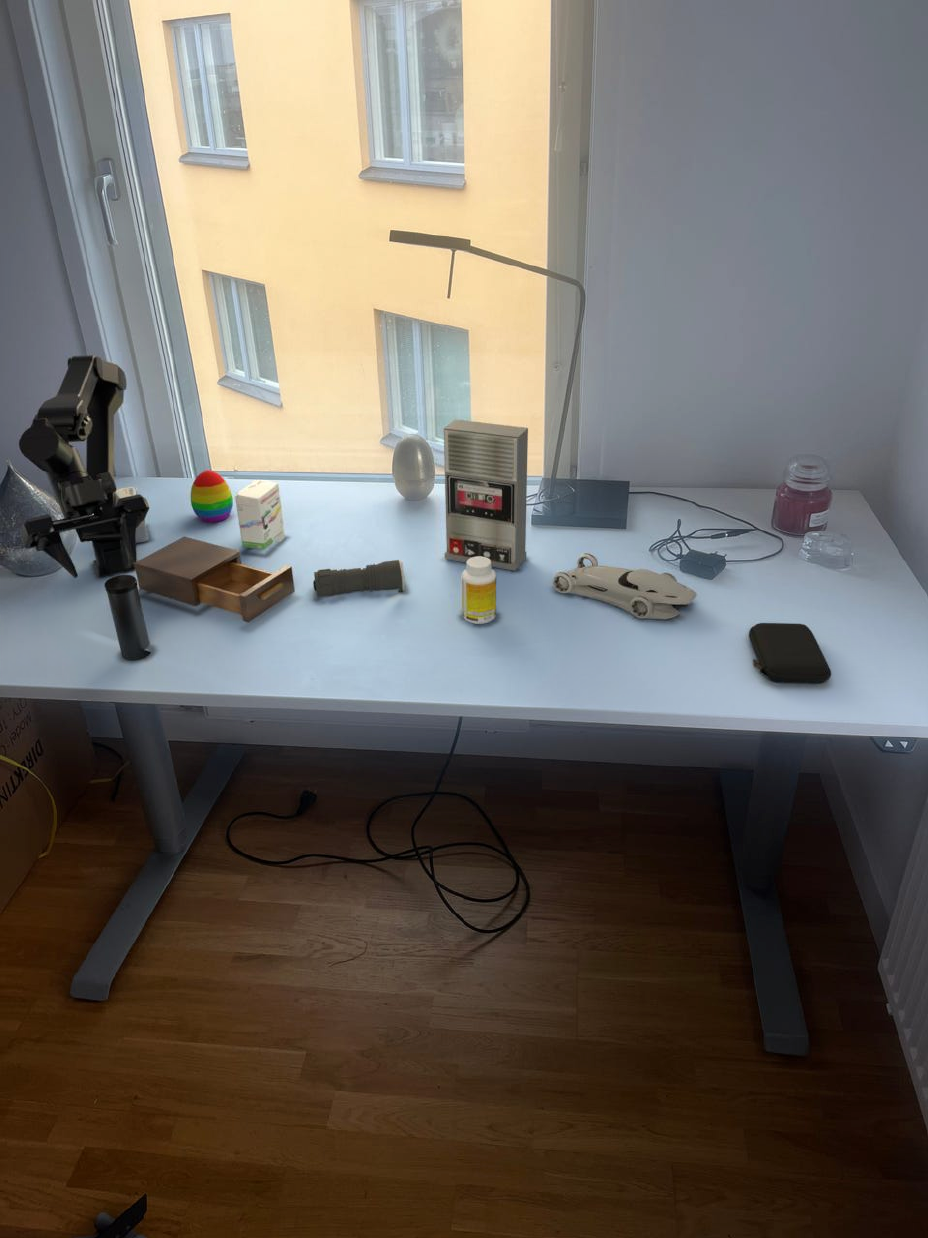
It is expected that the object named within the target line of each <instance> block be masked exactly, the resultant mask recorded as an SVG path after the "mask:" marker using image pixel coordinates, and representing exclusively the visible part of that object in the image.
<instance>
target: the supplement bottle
mask: <svg viewBox="0 0 928 1238" xmlns="http://www.w3.org/2000/svg"><path fill="white" fill-rule="evenodd" d="M465 568H466V569H464V570H463V571H462V573H461V604H462V606H461V607H462V609H461V611H462V617H463V619H464V620H465V621H467V622H468V623H471V624H475V625H483V624H488V623H490V622H492V621H493V620H495V618H496V616H497V573H496V571H495V570H494V569H492V568H493V567H491V560H490V559H488V558H486V557H481V556H477V557H472V558H470V559H468V560H467V562H466V566H465Z"/></svg>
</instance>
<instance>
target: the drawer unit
mask: <svg viewBox="0 0 928 1238" xmlns="http://www.w3.org/2000/svg"><path fill="white" fill-rule="evenodd" d="M229 561H232V562H235V563H239V564H242V557H241V551H240V550H237V549H233V548H229V547H226V546H222V545H218V544H214V543H211V542H207V541H204V540H199V539H196V538H192V537H188V536H182V537H181V538H179V539H176V540H175V541H172V542H171V543H169V544H167V545H166V546H164V547H161V548H159V549H158V550H156V551H154V552H152V553H150V554H148V555H146V556H144V557H143V558H141V559H139V560H137V561H136V563H134V565H135V569H134V570H135V574H136V579H137V584H138V588H139V590H141V591H145V592H148V593H152V594H154V595H158V596H161V597H164V598H168V599H170V600H173V601H176V602H180V603H183V604H187V605H190V606H192V607H197V606H199V605H200V604H201V602H199V597H198V591H197V586H196V581H197V580H199V579H200V578H202V577H204V576H205V575H207V574H209V573H211V572H212V571H214V570H216V569H217V568H219V567H221V566H222V565H224V564H226V563H228V562H229ZM242 565H243V564H242Z"/></svg>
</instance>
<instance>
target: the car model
mask: <svg viewBox="0 0 928 1238" xmlns="http://www.w3.org/2000/svg"><path fill="white" fill-rule="evenodd" d="M584 559H586V560H589V561H590V563H591V565H587V566H586V565H585V564H584V561H585V560H584ZM576 563H577V567H576V568H575V569H572V570H570V571H569V572H567V571H559V572H557V573H556V574H555V575H554V577H553V579H552V585H553V586H552V587H553V588H554V589H555V590H556V591H557V592H558V593H561V594H571V595H576V596H580V597H581V596H582V597H585V598H589V599H593V600H597V601H600V602H604V603H606V604H609V605H613V606H615V607H617V608H620V609H621V610H623V611H625V612H627V613H628V614H629V613H630V614H631V615H633V616H635V617H636V618H638V619H648V620H649V619H650V620H672V619H673V618H675V617H677V616H679V615H680V614H681V612H680V611H678V609H676V607H688V606H689V605H690V603H692V602H693V601H694V600H696V598H697V595H698V594H697V592H696V591H695V590H694V589H692V588H690V587H688V586H686V585H684V584H682V583H680V582H678V581H677V578H676V577H675V576H674V575H673V574H672V573H670V572H663V573H658V572H655V571H652V570H650V569H646V568H644V569H643V568H639V569H629V568H624V567H617V566H608V565H599V560H598V559H597V557H596V556H595V555H594V554H592V553H590V552H586V553H582V554H580V556H579V557H578V559H577V562H576Z"/></svg>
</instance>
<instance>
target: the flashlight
mask: <svg viewBox="0 0 928 1238" xmlns="http://www.w3.org/2000/svg"><path fill="white" fill-rule="evenodd" d="M404 571H405V570H404V565H403V561H402V559H395V560H386V561H385V560H384V561H382V562H378V563H377V564H375V563H373V564H366V565H365V567H363V568H361V567H357V568H347V569H346V568H343V569H331V568H324V569H323V568H322V569H318V570H317V571H314V572H313V576H314V580H313V582H312V583H313V590H314V591H315V592H316V597H317V598H327V597H334V596H339V595H341V594H349V593H356V592H358V593H359V592H364V591H369V592H375V591H393V590H397V592H404V591H405V590H406V577H405V572H404Z"/></svg>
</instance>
